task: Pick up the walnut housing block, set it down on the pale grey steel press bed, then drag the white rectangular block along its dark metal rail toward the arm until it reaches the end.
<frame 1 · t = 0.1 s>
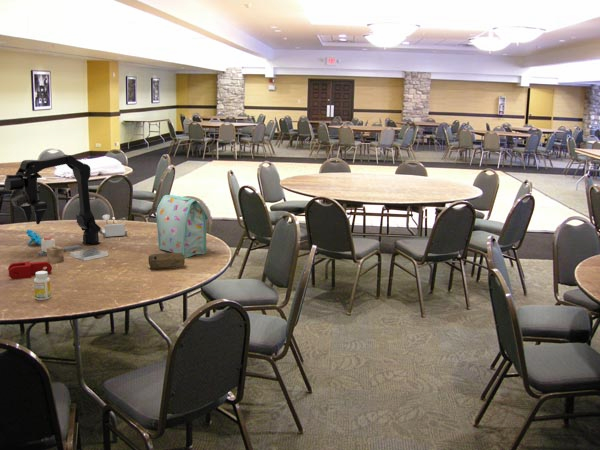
hand: (33, 222, 273), 15 cm above the table, tool pointing down, fingers open, 9 cm apart
mechanical linkage: (30, 275, 245), on the table
blue lobed piece: (36, 245, 293), on the table
lunch bag: (182, 251, 287), on the table
lever rail: (60, 251, 281), on the table
white rectangular block: (48, 243, 276), point 5 cm above the table, slide at 12.0 cm
housing: (55, 261, 265), on the table
stone weight: (166, 268, 259), on the table
supplement bottle: (43, 298, 218), on the table
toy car: (112, 234, 319), on the table
press bed: (89, 255, 275), on the table
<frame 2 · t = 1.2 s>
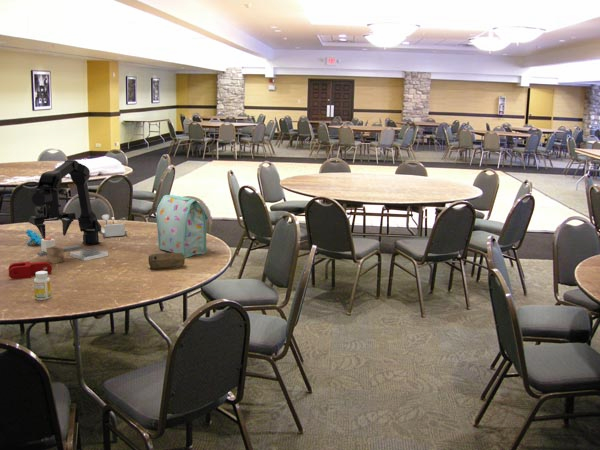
hand: (54, 237, 263), 11 cm above the table, tool pointing down, fingers open, 9 cm apart
nothing on the table moved.
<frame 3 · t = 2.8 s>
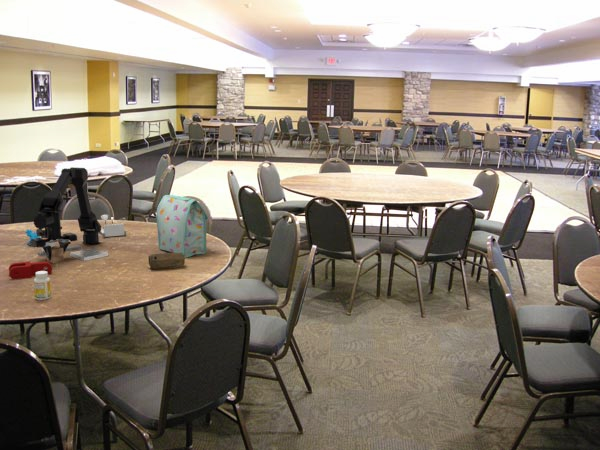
hand: (55, 258, 265), 1 cm above the table, tool pointing down, fingers closed on housing, 5 cm apart
housing: (55, 261, 265), on the table, touching gripper
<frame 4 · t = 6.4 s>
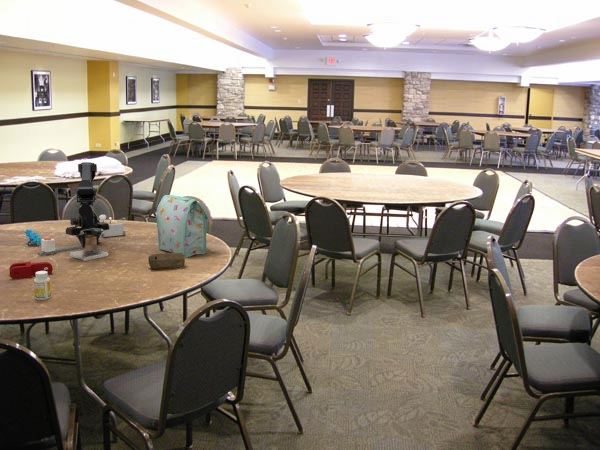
hand: (88, 247, 274), 4 cm above the table, tool pointing down, fingers closed on housing, 5 cm apart
housing: (89, 249, 274), point 3 cm above the table, touching gripper
when the fingers open (4 cm above the table, at t = 6.8 s): housing drops 1 cm, resting on press bed.
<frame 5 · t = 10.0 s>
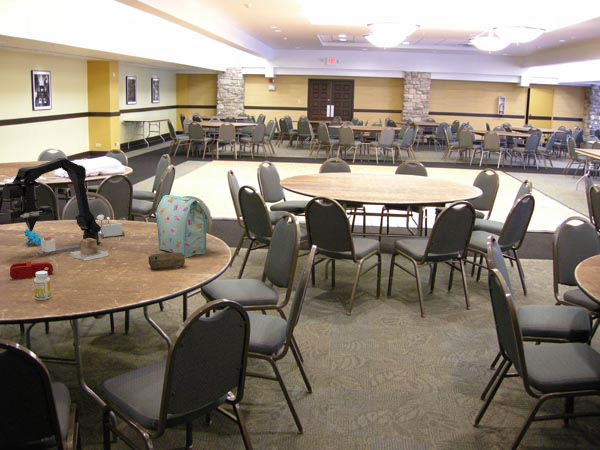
hand: (30, 231, 269), 12 cm above the table, tool pointing down, fingers closed
housing: (89, 252, 275), point 1 cm above the table, touching press bed
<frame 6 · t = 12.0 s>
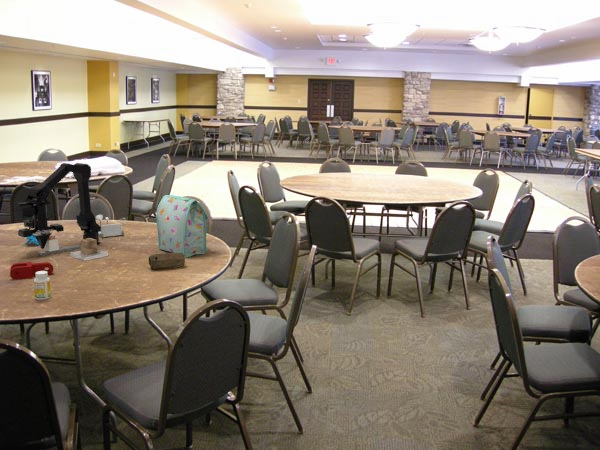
hand: (42, 248, 274), 3 cm above the table, tool pointing down, fingers closed
white rectangular block: (51, 243, 277), point 5 cm above the table, slide at 10.3 cm, touching gripper
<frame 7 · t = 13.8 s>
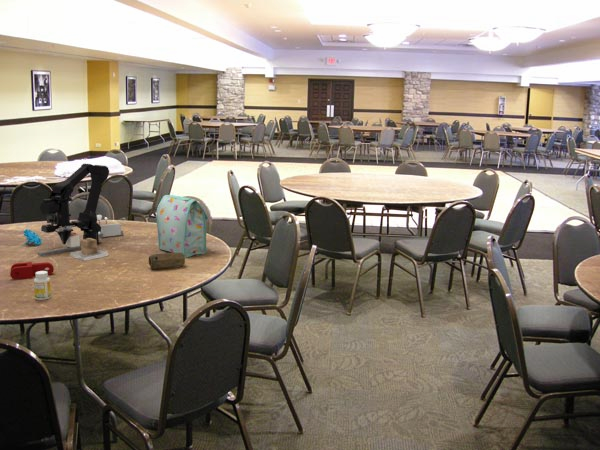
hand: (64, 244, 282), 3 cm above the table, tool pointing down, fingers closed
white rectangular block: (72, 239, 285), point 5 cm above the table, slide at -0.1 cm, touching gripper
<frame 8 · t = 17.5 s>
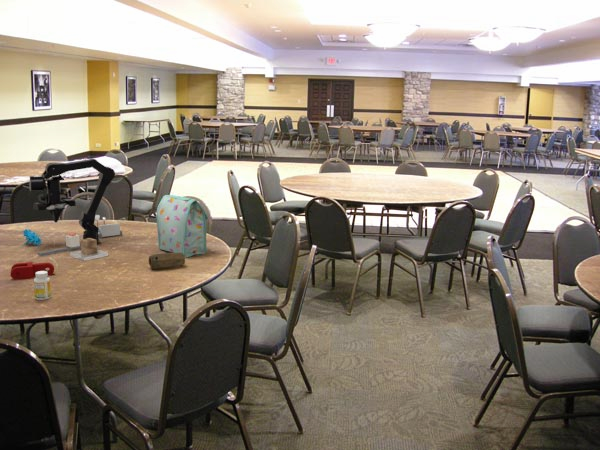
hand: (55, 222, 287), 12 cm above the table, tool pointing down, fingers closed
white rectangular block: (72, 239, 285), point 5 cm above the table, slide at 0.0 cm
at the end: housing inside the target area on the press bed (0.0 cm from its centre), point 1.5 cm above the press bed's base; housing tilted 0°; white rectangular block slide at 0.0 cm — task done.
